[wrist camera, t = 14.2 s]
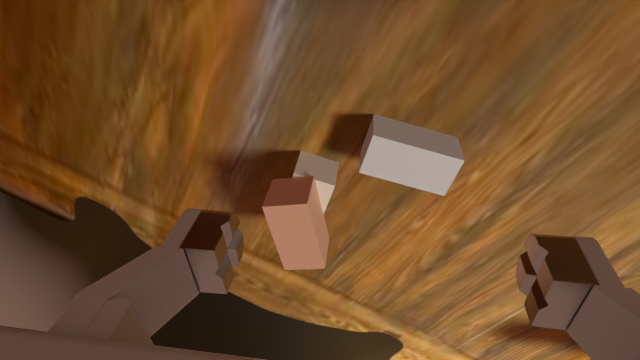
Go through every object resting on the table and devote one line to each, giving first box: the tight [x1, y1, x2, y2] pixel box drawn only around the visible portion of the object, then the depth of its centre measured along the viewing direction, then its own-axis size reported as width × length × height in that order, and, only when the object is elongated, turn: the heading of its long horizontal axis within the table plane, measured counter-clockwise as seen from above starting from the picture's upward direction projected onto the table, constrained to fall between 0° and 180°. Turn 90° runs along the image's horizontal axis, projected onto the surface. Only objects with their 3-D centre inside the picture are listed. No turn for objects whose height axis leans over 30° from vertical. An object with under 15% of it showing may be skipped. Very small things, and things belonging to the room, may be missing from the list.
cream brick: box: [292, 151, 339, 215], centre depth 49 cm, size 5×10×5 cm, turn 164°
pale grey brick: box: [359, 114, 465, 196], centre depth 44 cm, size 5×10×5 cm, turn 76°
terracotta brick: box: [262, 176, 329, 270], centre depth 45 cm, size 5×10×5 cm, turn 11°
